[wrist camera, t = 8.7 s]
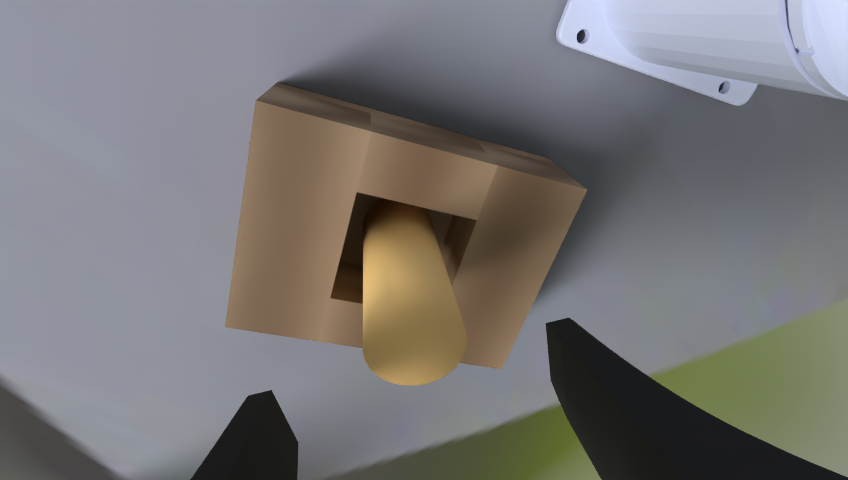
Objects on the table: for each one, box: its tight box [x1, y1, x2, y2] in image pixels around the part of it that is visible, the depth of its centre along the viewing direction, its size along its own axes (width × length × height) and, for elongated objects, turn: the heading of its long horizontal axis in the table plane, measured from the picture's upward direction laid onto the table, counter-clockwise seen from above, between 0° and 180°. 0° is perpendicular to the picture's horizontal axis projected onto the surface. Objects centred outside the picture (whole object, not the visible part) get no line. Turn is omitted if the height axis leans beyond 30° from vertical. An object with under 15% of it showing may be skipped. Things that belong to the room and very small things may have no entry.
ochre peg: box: [363, 198, 467, 386], centre depth 16 cm, size 3×3×8 cm
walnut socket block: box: [225, 82, 587, 369], centre depth 19 cm, size 12×9×4 cm
